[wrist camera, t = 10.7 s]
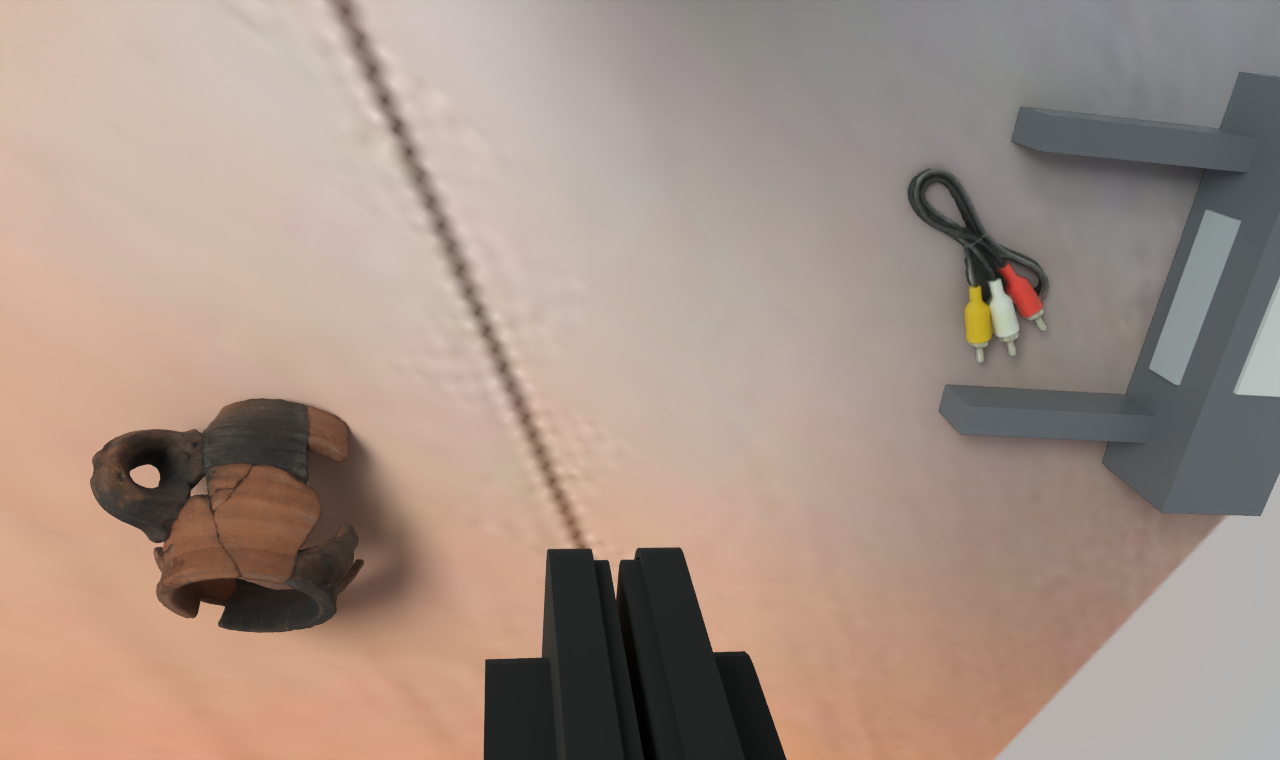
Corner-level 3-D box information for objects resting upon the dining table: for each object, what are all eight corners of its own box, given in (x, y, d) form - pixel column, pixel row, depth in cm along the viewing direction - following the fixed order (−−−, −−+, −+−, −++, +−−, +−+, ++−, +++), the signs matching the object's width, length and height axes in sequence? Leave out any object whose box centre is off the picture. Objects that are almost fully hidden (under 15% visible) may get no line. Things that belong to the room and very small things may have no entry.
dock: (1036, 46, 40) (1106, 58, 36) (1344, 85, 43) (1448, 100, 38) (927, 455, 48) (972, 508, 43) (1193, 466, 51) (1263, 518, 46)
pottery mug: (415, 431, 44) (394, 596, 40) (323, 506, 50) (296, 657, 45) (153, 333, 38) (90, 516, 33) (81, 431, 43) (19, 600, 39)
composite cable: (893, 182, 42) (915, 194, 40) (989, 129, 42) (1017, 139, 40) (963, 354, 46) (987, 374, 44) (1051, 308, 46) (1079, 326, 44)
